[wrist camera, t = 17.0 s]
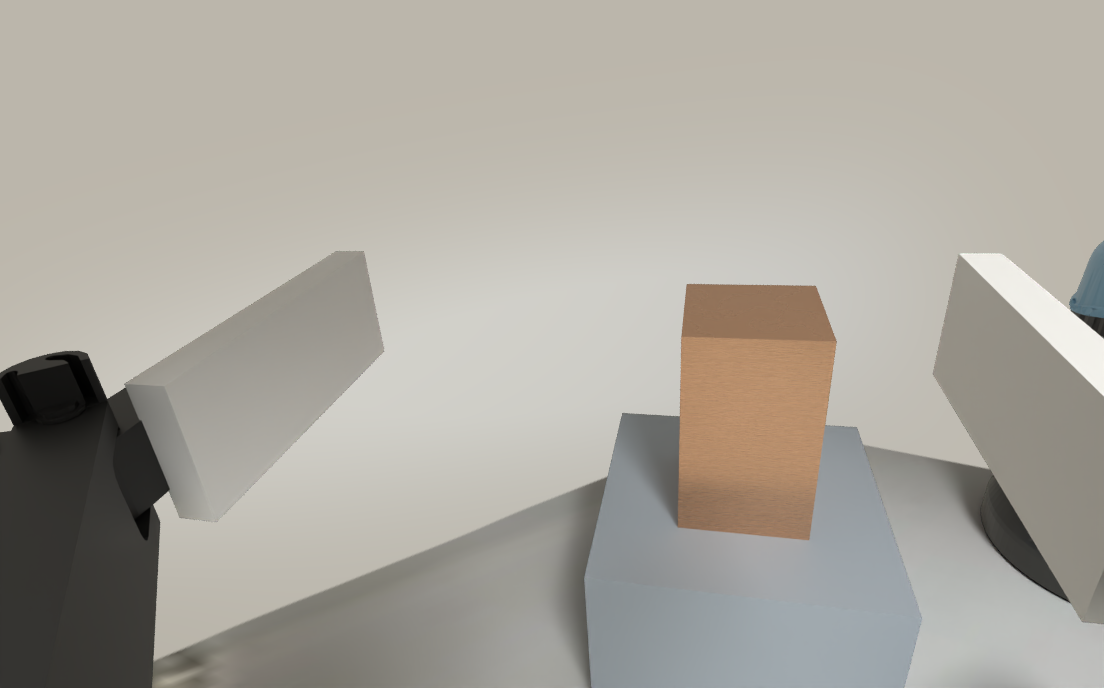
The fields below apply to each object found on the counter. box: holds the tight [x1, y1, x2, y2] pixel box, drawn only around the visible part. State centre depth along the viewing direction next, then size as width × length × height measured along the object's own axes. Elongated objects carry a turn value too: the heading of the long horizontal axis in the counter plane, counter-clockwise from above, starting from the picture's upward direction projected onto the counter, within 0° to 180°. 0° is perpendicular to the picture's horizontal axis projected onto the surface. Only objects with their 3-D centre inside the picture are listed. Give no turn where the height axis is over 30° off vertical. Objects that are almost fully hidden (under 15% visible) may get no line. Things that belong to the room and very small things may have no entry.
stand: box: [584, 413, 922, 688], centre depth 41 cm, size 16×16×10 cm
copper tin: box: [678, 284, 837, 540], centre depth 36 cm, size 7×7×12 cm
